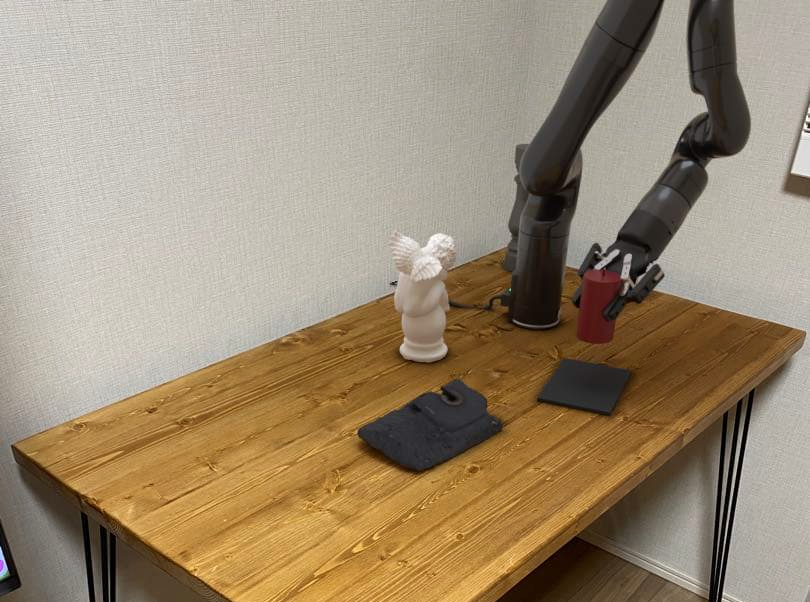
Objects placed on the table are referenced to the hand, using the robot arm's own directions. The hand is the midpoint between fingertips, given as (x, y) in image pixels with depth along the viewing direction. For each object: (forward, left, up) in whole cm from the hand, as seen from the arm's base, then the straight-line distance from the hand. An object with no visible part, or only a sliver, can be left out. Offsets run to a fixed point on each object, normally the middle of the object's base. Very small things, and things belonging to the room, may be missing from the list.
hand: (591, 312), depth 140 cm
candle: (+1, +1, -4) cm, 5 cm away
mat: (+1, +1, -13) cm, 14 cm away
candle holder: (-27, +53, -14) cm, 62 cm away
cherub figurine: (-28, 0, -14) cm, 31 cm away
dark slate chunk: (-17, -25, -14) cm, 33 cm away
